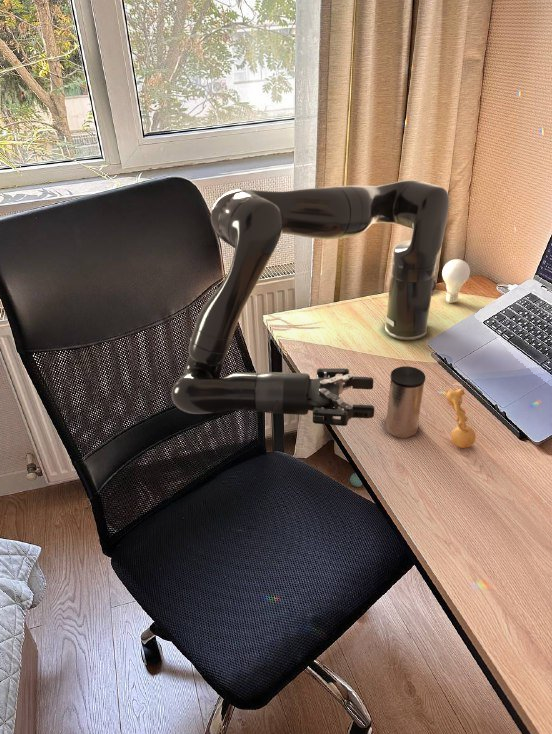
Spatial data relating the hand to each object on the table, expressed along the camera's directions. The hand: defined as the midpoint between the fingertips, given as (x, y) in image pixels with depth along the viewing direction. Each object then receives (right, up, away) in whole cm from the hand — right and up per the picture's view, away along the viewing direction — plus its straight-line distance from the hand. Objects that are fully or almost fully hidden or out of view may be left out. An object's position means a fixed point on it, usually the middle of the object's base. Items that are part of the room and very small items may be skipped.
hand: (373, 397), depth 104 cm
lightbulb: (+28, +24, +42) cm, 55 cm away
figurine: (+14, -9, -1) cm, 17 cm away
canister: (+6, -6, +3) cm, 9 cm away
